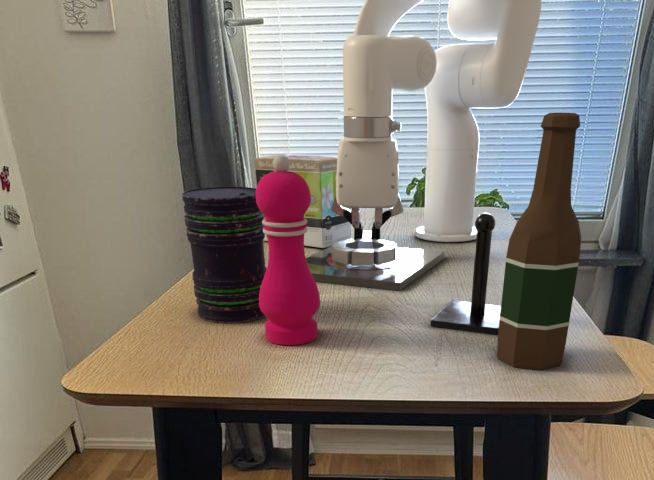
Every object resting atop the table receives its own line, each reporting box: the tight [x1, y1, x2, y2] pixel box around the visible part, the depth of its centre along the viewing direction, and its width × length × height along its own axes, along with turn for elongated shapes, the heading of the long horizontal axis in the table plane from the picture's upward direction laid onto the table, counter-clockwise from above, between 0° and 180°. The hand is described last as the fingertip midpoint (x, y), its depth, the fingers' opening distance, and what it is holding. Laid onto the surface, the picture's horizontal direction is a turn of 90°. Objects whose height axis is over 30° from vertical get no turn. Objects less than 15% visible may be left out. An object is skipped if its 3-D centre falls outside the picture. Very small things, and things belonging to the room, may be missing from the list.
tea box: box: [254, 153, 352, 249], centre depth 125 cm, size 15×10×15 cm, turn 58°
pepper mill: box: [256, 154, 321, 346], centre depth 76 cm, size 7×7×20 cm
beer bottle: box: [496, 112, 582, 371], centre depth 68 cm, size 8×8×24 cm
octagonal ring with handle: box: [332, 230, 397, 266], centre depth 109 cm, size 17×10×2 cm, turn 177°
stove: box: [306, 246, 446, 292], centre depth 110 cm, size 22×20×1 cm
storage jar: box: [181, 186, 267, 324], centre depth 86 cm, size 10×10×15 cm
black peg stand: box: [429, 212, 501, 336], centre depth 83 cm, size 10×10×13 cm
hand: (367, 250), depth 114 cm, fingers closed on octagonal ring with handle, 1 cm apart
